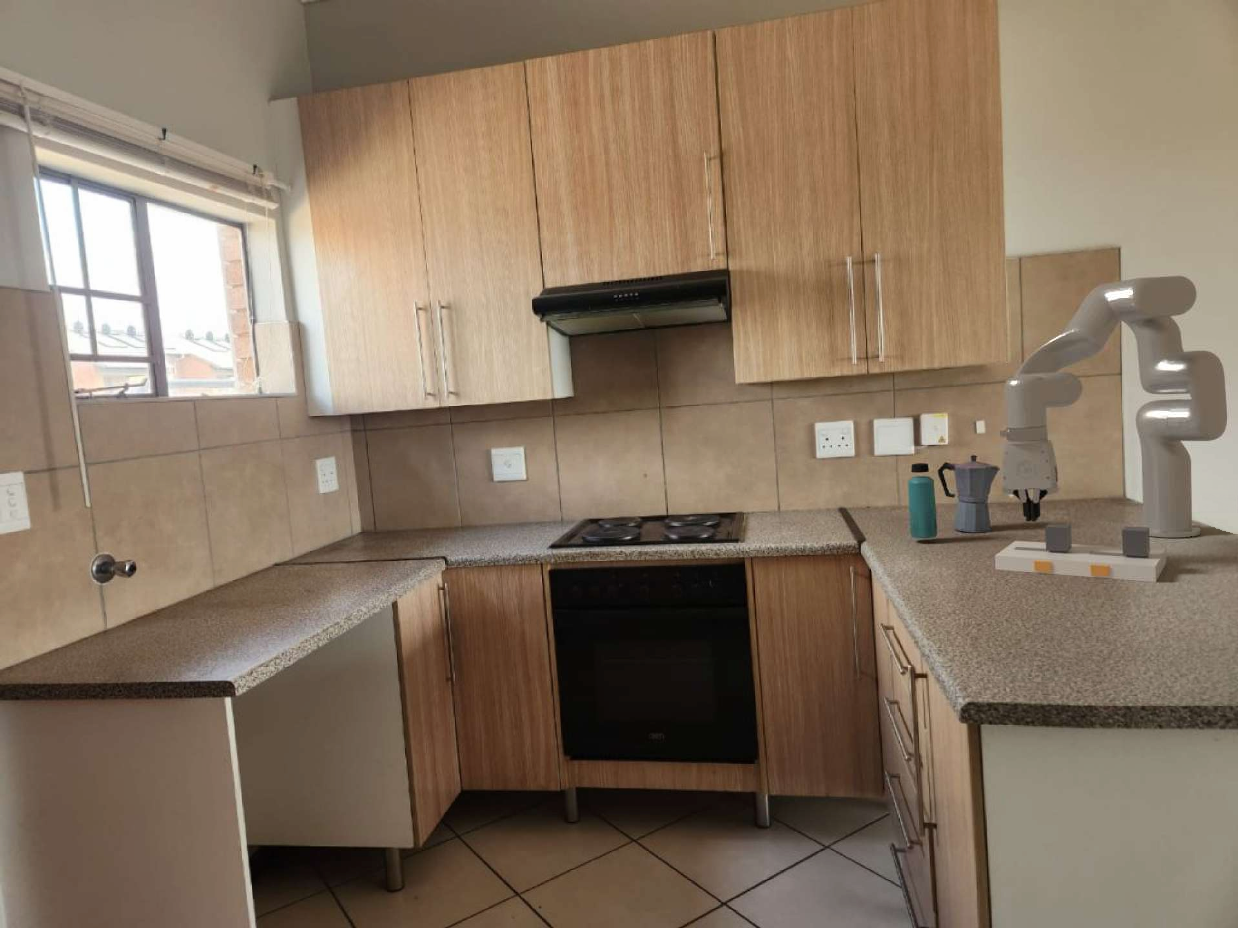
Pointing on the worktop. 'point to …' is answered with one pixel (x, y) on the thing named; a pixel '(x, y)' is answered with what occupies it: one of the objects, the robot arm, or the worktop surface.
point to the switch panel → (1081, 561)
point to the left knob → (1058, 537)
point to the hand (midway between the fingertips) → (1032, 519)
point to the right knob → (1136, 541)
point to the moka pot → (971, 493)
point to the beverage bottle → (922, 504)
